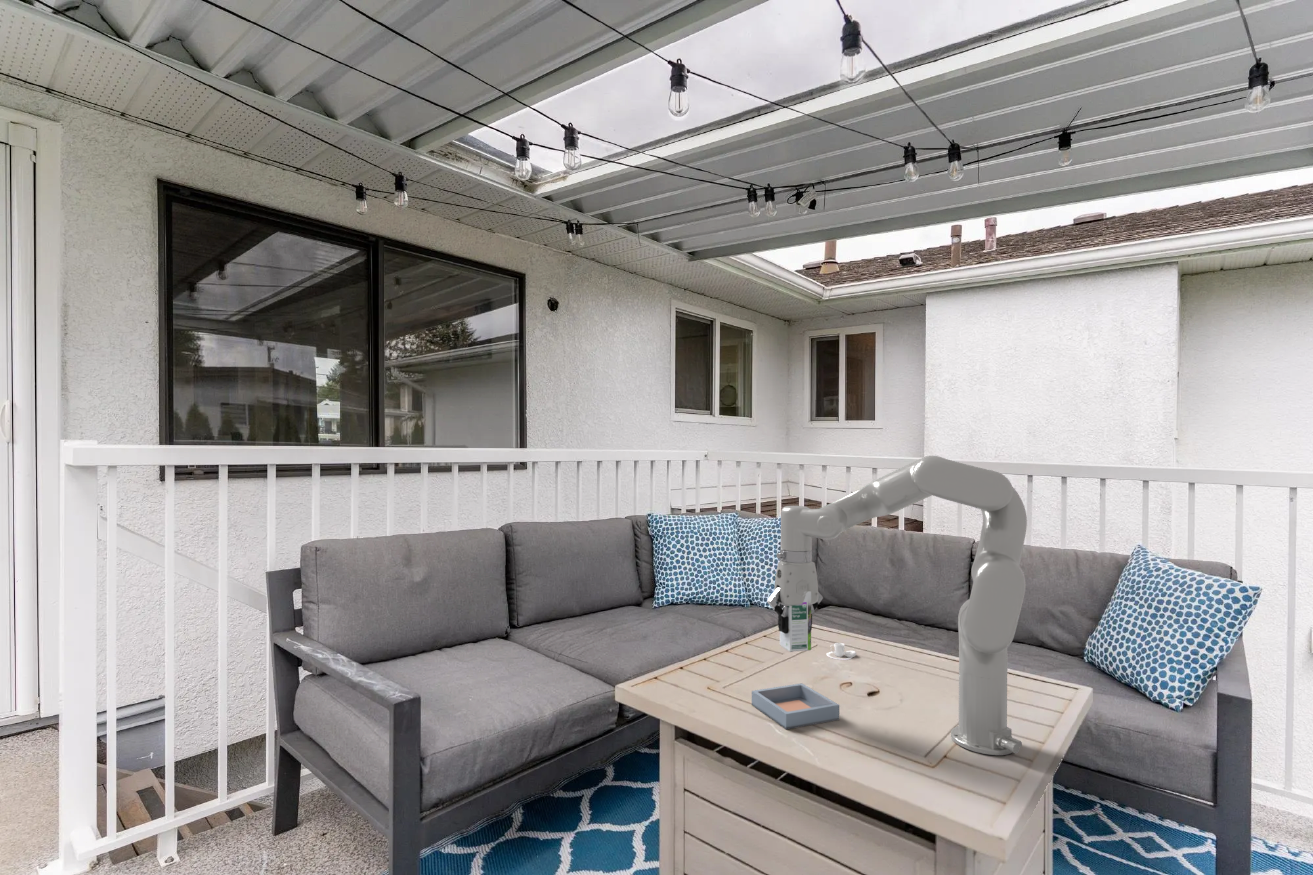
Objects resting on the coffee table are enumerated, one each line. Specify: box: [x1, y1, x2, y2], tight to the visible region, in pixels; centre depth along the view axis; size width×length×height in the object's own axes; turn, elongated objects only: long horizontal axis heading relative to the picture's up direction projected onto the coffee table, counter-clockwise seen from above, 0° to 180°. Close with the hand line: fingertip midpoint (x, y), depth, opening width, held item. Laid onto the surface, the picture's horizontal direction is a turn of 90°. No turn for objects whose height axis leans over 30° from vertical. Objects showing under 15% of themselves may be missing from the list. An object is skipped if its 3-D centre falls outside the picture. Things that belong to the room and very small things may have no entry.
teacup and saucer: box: [825, 642, 857, 661], centre depth 199 cm, size 9×8×4 cm
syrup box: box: [779, 591, 812, 653], centre depth 156 cm, size 6×6×14 cm
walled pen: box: [751, 682, 840, 730], centre depth 156 cm, size 15×15×4 cm
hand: (795, 629), depth 156 cm, fingers closed on syrup box, 6 cm apart
